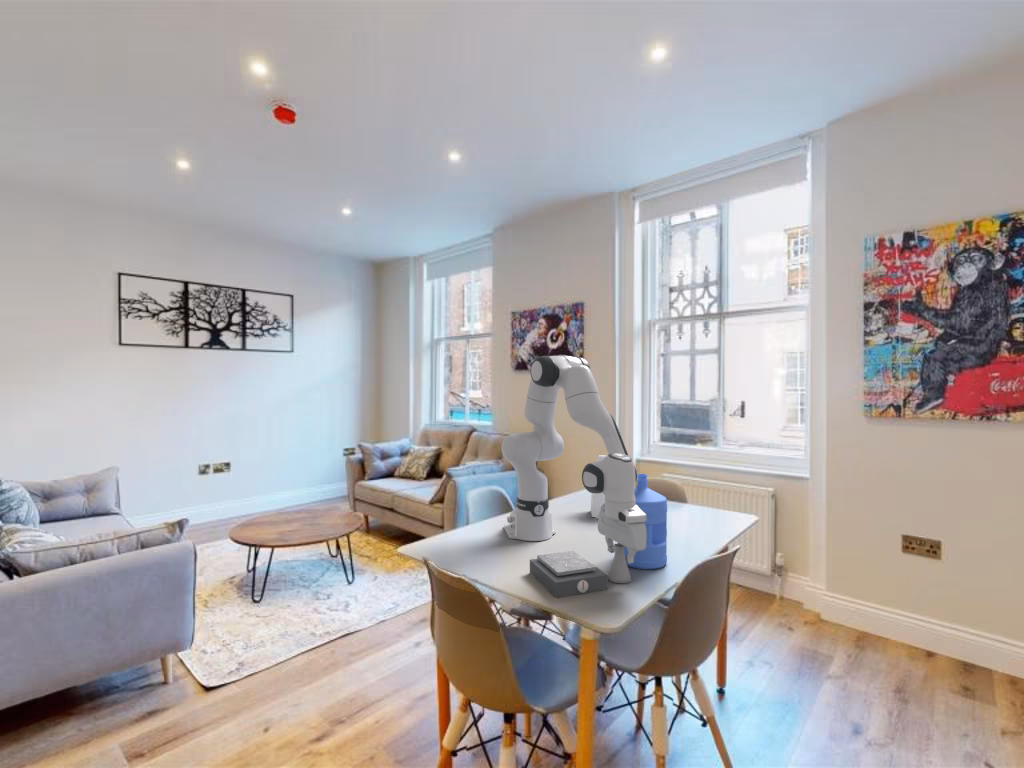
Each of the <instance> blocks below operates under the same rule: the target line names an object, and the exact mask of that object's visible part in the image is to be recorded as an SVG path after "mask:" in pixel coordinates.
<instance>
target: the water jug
mask: <svg viewBox="0 0 1024 768" xmlns="http://www.w3.org/2000/svg"><path fill="white" fill-rule="evenodd" d="M647 477H648V474H646V473H645V474H644V473H637V481H636V483H637V484H636V486H635V490H634V495H635V499H636V505H637V506H638V507H639V508H640V509H641V510H642V511H643V512H644V513H645V514H646V517H647V519H646V522H644V524H645V526H646V547H645V549H644V550H642V551H637V552H636V554H635V556H634V562H633V563H628V562H626V564H627V567H628V568H629V567H630V568H633V569H639V570H656V569H661V568H663V567H665V566H666V564H667V562H668V556H667V555H668V554H667V543H668V542H667V541H668V540H667V536H668V532H667V531H668V528H667V522H668V518H667V517H668V516H667V515H668V514H667V513H668V500H667V497H666V496H665V495H662V494H661V493H659V492H657V491H655V490H652V489H651V488H649V487H648V479H647ZM617 544H619V543H618V542H617ZM628 552H629V551H627V547H625V548H624V556H625V560H626V556H627V555H628Z"/></svg>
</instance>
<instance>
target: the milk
mask: <svg viewBox="0 0 1024 768" xmlns="http://www.w3.org/2000/svg"><path fill="white" fill-rule="evenodd" d="M606 456H607V455H598V457H597V459H596V462H597V461H600V460H602V459H604V458H605V457H606ZM590 494H591V497H590V514H591V518H592V517H599V512H600V511H601V506H602V505H603V504H605V494H603V493H599V494H595V493H590Z"/></svg>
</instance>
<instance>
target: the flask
mask: <svg viewBox="0 0 1024 768" xmlns="http://www.w3.org/2000/svg"><path fill="white" fill-rule="evenodd" d="M613 544H614V547H615V553H614V557H613V560H612V562H611V565H610V568H609V570H608V573H607V575H608V581H610V582H612V583H615V584H627V583H628V584H629V583H632V576H631V573H630V569H629V566H627V564H626V560H625V556H624V548H625V546H623V545H621V544H618V543H613Z"/></svg>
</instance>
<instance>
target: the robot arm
mask: <svg viewBox="0 0 1024 768" xmlns="http://www.w3.org/2000/svg"><path fill="white" fill-rule="evenodd" d="M529 372H530V377H531V379H530V382H529V385H528V389H527V395H526V398H525V399H526V400H525V407H524V413H523V414H524V417H525V420H527V421H528V422H529V423H530V424H532V425H533V426H532V427H533V430H532V431H529V432H516V433H512V434H508V435H506V436H505V437H504V439H503V440H502V443H501V450H500V451H501V453H502V455H503V458H504V459H505V460H506V461H507V462H509V463H510V464H511V465H512V467H513V468H514V470H515V471H514V472H515V473H516V476H517V477H516V479H517V487H518V488H517V491H518V492H517V495H518V496H517V497H516V504H515V508H514V509H513V510H512V511H511V512H510V514H509V516H507V517H506V518H507V523H505V524H504V525H503V529H504V530H505V533H506V536H507V537H508V538H509V539H512V540H521V541H526V542H527V541H528V542H539V541H547V540H548V539H549V540H550V539H551V537H552V536H553V534H554V535H556V532H557V531H556V530H555V529H553V515H552V511H550V510H549V507H550V506H549V505H550V499H549V498H548V493H549V492H548V491H549V489H548V485H549V484H548V481H549V480H548V478H547V476H546V474H545V473H543V472H541V471H540V470H538V468H537V462H541V461H543V462H544V461H550V460H553V459H556V458H559V457H561V456H562V455H563V453H564V450H565V442H564V440H563V437H562V436H561V434H560V433H558V432H557V428H556V425H555V413H556V406H557V402H558V396H559V395H558V394H559V390H560V388H562V389H563V394H564V398H565V399H564V400H565V404H566V405H565V406H566V409H567V411H568V414H569V417H570V418H571V420H573V421H574V422H575V423H576V424H578V425H580V426H581V427H586V428H588V429H590V430H592V431H594V432H595V433H597V434H598V435H600V437H601V438H602V441H603V442H604V445H605V448H606V452H607V455H605V456H606V457H605V458H604V459H602V460H600V461H597V460H596V461H592V462H589V463H587V464H586V465H585V466H584V468H583V469H582V473H581V481H582V486H583V487H584V488H585V489H586V491H587V492H589V493H590V494H592V493H595V494H599V493H603V494H605V504H603V505H602V506H601V511H600V512H599V517H598V518H597V519H598V520H597V531H598V533H599V534H600V535H602V536H604V538H605V543H606V545H607V552H608V553H611V554H613V553H614V554H615V547H614V544H615V543H617V544H618V543H619V544H621V545H623V546H625V547H627V551H629V552H628V555H627V556H626V562H628V563H633V562H634V556H635V554H636V552H637V551H642V550H644V549H645V547H646V526H645V524H644V522H646V519H647V517H646V514H645V513H644V512H643V511H642V510H641V509H640V508H639V507H638V506H637V505H636V499H635V495H634V490H635V488H636V487H637V484H636V483H637V479H638V476H637V474H638V473H637V469H636V466H635V463H634V462H635V461H634V460H633V458H632V457H631V456H630V455H629V454H628V450H627V448H626V446H625V443H624V441H623V438H622V436H621V432H620V431H619V427H618V425H617V423H616V421H615V418H614V416H612V414H611V413H610V412H608V410H607V408H606V407H605V405H604V403H603V401H602V399H601V397H600V396H601V395H600V392H599V388H598V386H597V385H598V384H597V382H596V380H595V377H594V375H593V373H592V370H591V367H590V363H589V362H588V361H587V360H586V359H585V358H583V357H580V356H571V355H562V354H561V355H541V356H538V357H536V358H534V360H533V361H532V363H531V365H530V371H529ZM614 542H615V543H614Z"/></svg>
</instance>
